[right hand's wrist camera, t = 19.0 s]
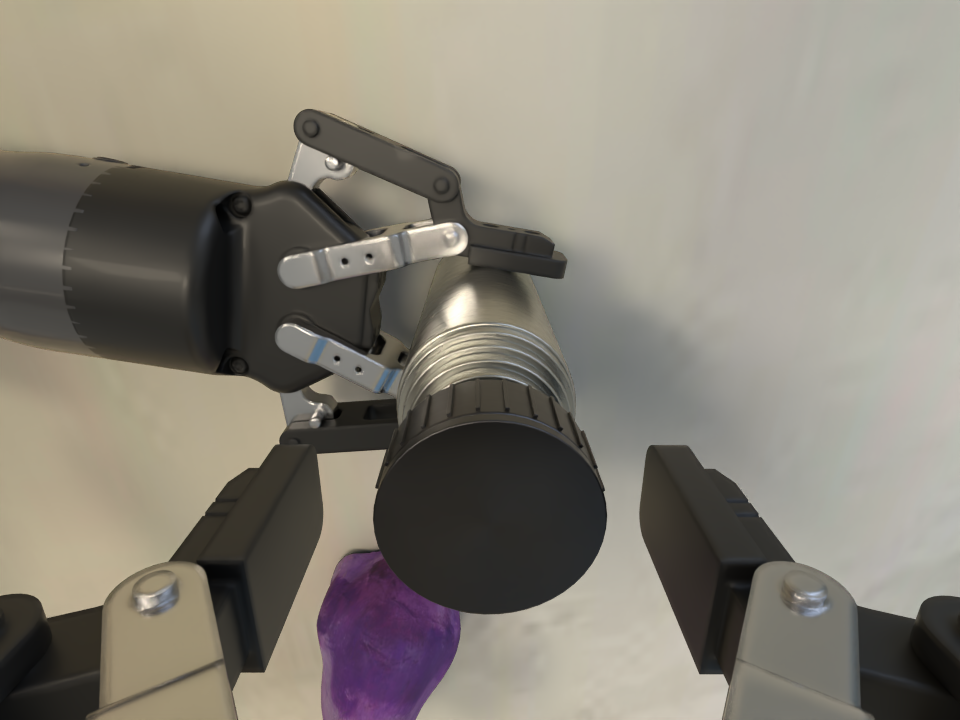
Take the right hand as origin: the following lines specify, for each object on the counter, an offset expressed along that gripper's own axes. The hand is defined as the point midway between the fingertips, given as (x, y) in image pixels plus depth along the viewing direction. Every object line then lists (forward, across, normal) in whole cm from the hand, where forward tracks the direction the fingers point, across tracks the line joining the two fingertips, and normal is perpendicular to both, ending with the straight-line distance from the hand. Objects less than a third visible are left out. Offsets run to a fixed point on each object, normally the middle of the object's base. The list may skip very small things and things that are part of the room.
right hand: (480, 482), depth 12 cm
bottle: (+18, 0, 0) cm, 18 cm away
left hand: (+12, -3, 0) cm, 12 cm away
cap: (-1, 0, 0) cm, 1 cm away
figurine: (+18, +5, +20) cm, 28 cm away
